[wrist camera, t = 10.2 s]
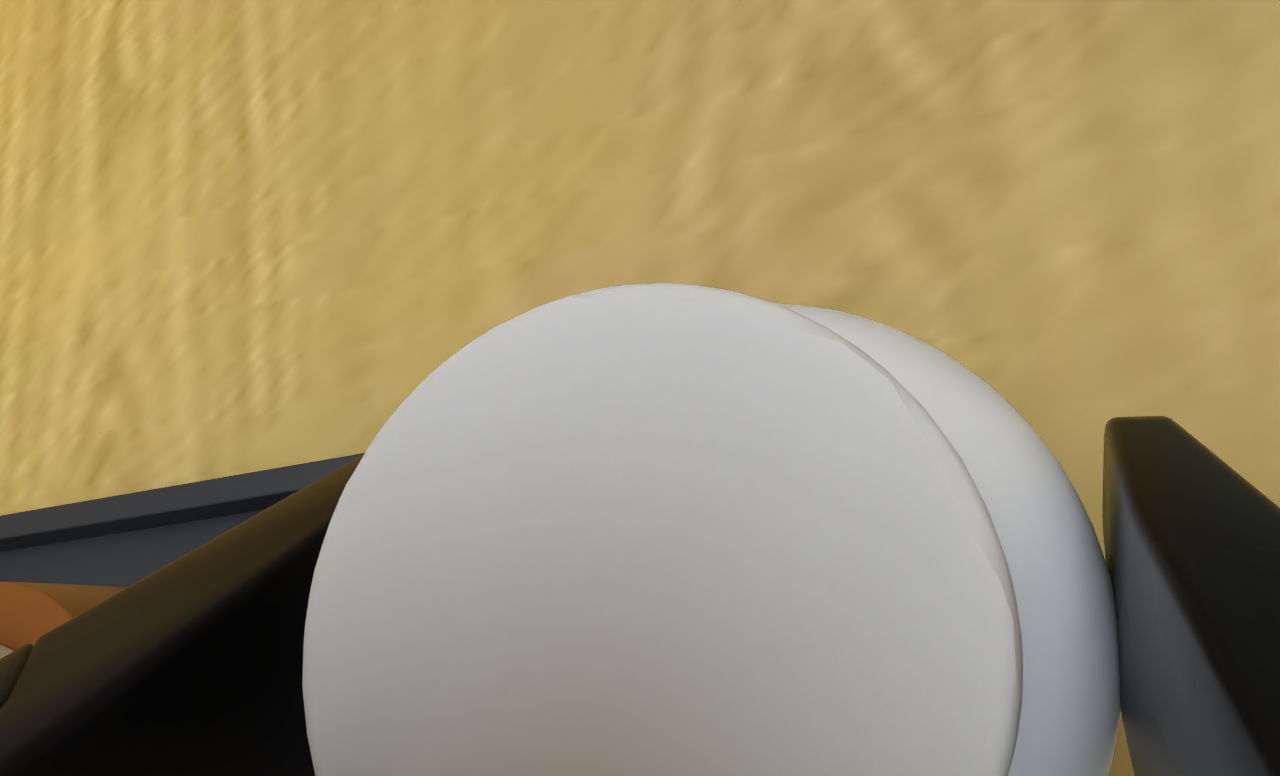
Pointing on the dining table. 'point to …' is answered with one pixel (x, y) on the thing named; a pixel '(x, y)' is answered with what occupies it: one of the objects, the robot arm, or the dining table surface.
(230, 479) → the tray
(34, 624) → the amber bottle
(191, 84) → the dining table surface
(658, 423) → the supplement bottle
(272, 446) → the dining table surface
